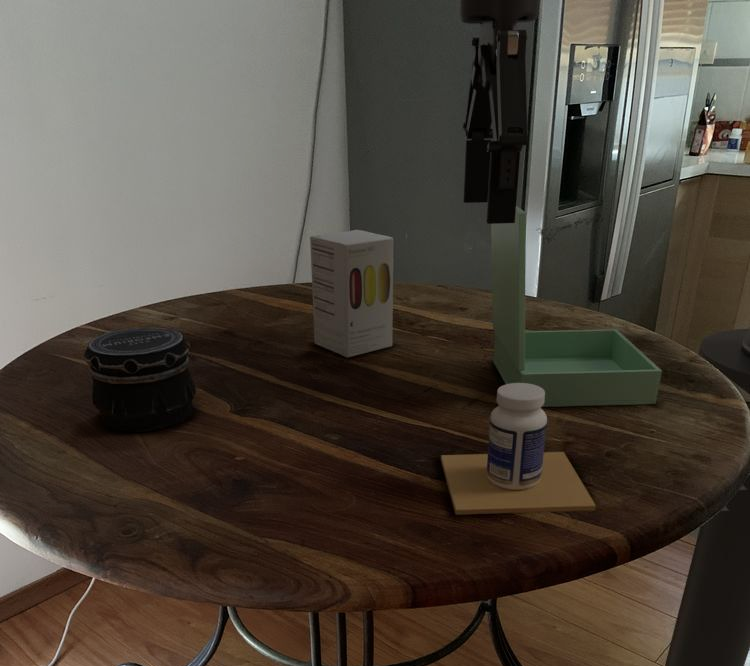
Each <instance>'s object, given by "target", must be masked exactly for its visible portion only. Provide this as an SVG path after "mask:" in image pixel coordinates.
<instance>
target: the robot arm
mask: <svg viewBox="0 0 750 666" xmlns="http://www.w3.org/2000/svg"><path fill="white" fill-rule="evenodd" d="M539 9H540V0H459V20H460V21H461V22H462V23H464V24H480V32H479V35H473V36H472V39H471V41H470V45H471V53H470V54H471V55H470V64H469V75H468V82H467V90H466V98H465V106H464V116H463V122H462V129H463V132H464V136H465V139H466V140H465V156H464V157H465V159H464V182H463V183H464V184H463V203H464V204H473V203H474V204H475V203H476V204H477V203H478V204H479V203H487V209H486V210H487V213H486V223H487V224H488V225H491V224H500V223H515V213H516V206H517V199H518V186H519V174H520V159H521V152H522V148H523V147H525V146H527V144H528V143H529V131H528V129H529V128H528V98H527V97H528V96H527V94H528V93H527V63H526V62H527V60H526V59H527V57H526V56H527V55H526V54H527V41H528V34H527V33H528V32H527V29H518V27H517V24H520V23H530V22H533V21H535V20H536V19H537V18H538V16H539ZM492 139H493V140H492ZM748 329H749V330H748V332H747V333H746V335H745V337H744V339H743V343H742V347H741V350H742V352H743V353H744V354H745V355H747V356H748V357H750V328H748Z"/></svg>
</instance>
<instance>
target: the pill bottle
mask: <svg viewBox="0 0 750 666" xmlns="http://www.w3.org/2000/svg"><path fill="white" fill-rule="evenodd" d="M544 400H545V391H544V390H543V389H542V388H541V387H539V386H536V385H533V384H528V383H511V384H503V385H501V386H499V387H498V388H497V391H496V403H497V405H498V406H496V407H495V408H494V409H492V411H491V413H490V415H489V416H490V417H489V430H488V446H487V454H488V459H487V477H488V479H489V480H490V481H491V482H492V483H493V484H494V485H496V486H498V487H501V488H505V489H511V490H523V489H528V488H531V487H533V486H535V485H536V484H537V483H538V482H539V481H540V479H541V474H542V464H543V455H544V452H545V446H546V435H547V428H548V427H547V426H548V417H547V414H546V412H545V411H544V410H543V409H542V408H543V407H542V406H543V405H544Z"/></svg>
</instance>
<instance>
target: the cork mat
mask: <svg viewBox="0 0 750 666" xmlns="http://www.w3.org/2000/svg"><path fill="white" fill-rule="evenodd" d="M487 459H488V453H475V454H473V453H472V454H471V453H470V454H441V455H440V463H441V466H442V470H443V473H444V477H445V482H446V485H447V489H448V492H449V495H450V500H451V503H452V507H453V510H454V514H455V515H456V516H461V515H464V516H465V515H494V514H496V515H497V514H523V513H524V514H525V513H527V514H529V513H556V512H557V513H559V512H585V511H586V512H589V511H590V512H591V511H593V512H594V511H596V506H597V505H596V503H595V502H594V500H593V498H592V497H591V494H590V493H589V491H588V489H587V488H586V487H585V485H584V483H583V482H582V480H581V478H580V477H579V474H578V473H577V472H576V470H575V468H574V467H573V465H572V464H571V462H570V460H569V458H568V457H567V455H566V453H565V451H544V455H543V464H542V474H541V479H540V481H539V482H538V483H537V484H536V485H535V486H533V487H531V488H528V489H523V490H511V489H505V488H501V487H498V486H496V485H494V484H493V483H492V482H491V481H490V480H489V479H488V477H487Z"/></svg>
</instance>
